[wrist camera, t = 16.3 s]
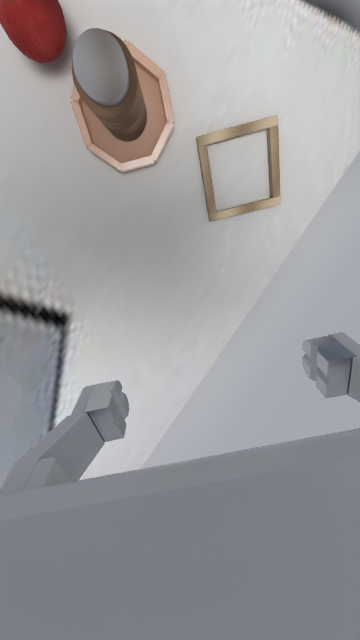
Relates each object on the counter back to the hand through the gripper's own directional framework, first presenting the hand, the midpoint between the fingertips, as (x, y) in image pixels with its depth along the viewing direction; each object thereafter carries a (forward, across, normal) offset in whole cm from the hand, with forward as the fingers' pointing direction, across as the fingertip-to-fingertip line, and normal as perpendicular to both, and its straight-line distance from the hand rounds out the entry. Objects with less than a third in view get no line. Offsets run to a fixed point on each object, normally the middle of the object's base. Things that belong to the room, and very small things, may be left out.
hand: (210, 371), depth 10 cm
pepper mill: (+28, +3, -17) cm, 33 cm away
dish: (+29, +3, -17) cm, 34 cm away
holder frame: (+29, -10, -8) cm, 32 cm away
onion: (+29, +9, -25) cm, 40 cm away
